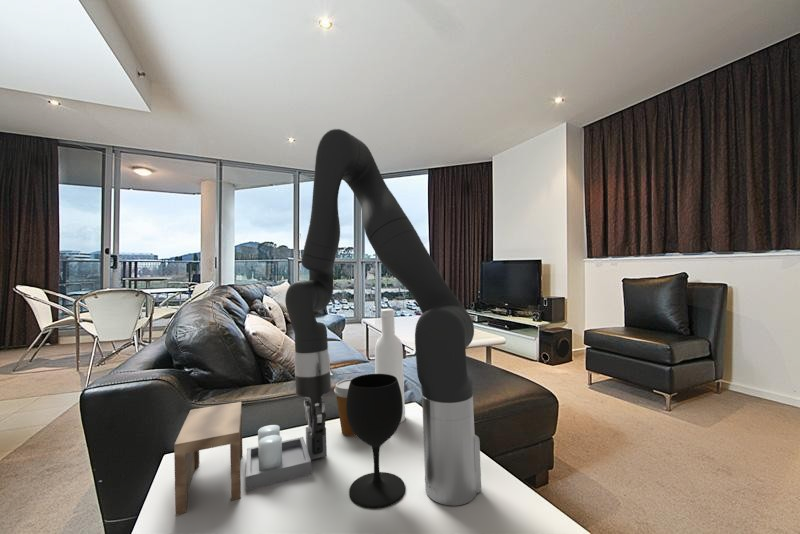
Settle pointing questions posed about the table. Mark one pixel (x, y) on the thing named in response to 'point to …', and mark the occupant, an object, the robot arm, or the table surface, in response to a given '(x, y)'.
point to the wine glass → (375, 435)
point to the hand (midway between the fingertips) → (316, 449)
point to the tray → (289, 462)
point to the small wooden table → (207, 446)
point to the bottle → (390, 352)
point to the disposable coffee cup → (343, 405)
